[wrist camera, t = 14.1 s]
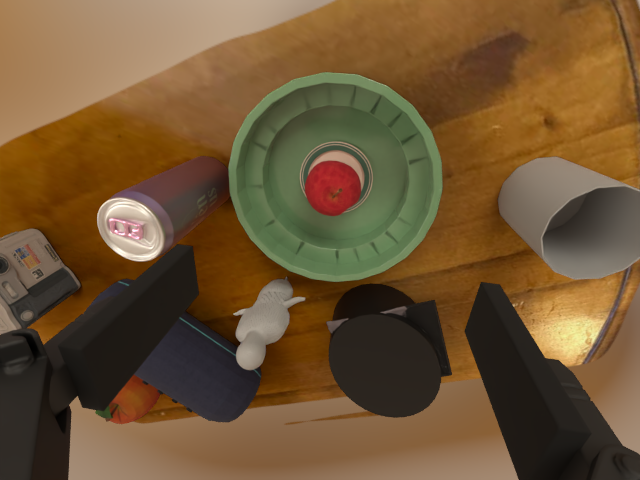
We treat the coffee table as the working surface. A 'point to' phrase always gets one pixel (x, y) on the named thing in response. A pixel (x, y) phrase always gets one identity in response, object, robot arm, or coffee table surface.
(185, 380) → the portable speaker
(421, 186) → the bowl
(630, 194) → the cup
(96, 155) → the coffee table surface
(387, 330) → the tape dispenser
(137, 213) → the beverage can
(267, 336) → the figurine
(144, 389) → the fruit
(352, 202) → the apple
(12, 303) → the camera
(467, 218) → the coffee table surface
